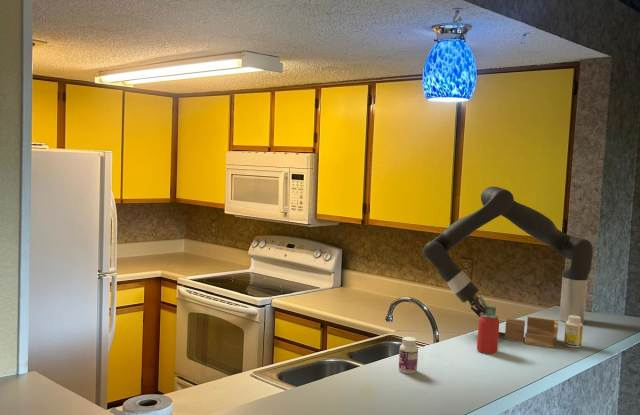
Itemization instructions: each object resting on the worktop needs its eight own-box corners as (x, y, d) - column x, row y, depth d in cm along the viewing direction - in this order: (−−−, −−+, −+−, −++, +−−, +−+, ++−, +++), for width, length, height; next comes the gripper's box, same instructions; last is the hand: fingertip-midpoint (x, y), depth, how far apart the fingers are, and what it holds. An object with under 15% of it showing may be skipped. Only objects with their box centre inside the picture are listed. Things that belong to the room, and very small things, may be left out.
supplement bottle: (576, 343, 220) (578, 314, 219) (584, 348, 214) (586, 318, 213) (560, 343, 219) (563, 314, 218) (568, 348, 214) (570, 318, 213)
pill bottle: (394, 368, 186) (396, 336, 185) (410, 367, 188) (412, 335, 187) (404, 375, 181) (406, 342, 180) (420, 373, 183) (422, 340, 182)
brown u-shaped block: (526, 335, 227) (527, 316, 226) (556, 339, 223) (558, 320, 223) (524, 343, 217) (526, 323, 216) (556, 348, 213) (557, 327, 213)
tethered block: (483, 331, 230) (485, 304, 229) (523, 337, 225) (525, 309, 224) (481, 335, 224) (483, 307, 223) (522, 341, 219) (524, 313, 218)
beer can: (472, 351, 206) (475, 314, 205) (482, 347, 211) (485, 311, 210) (491, 356, 202) (493, 319, 201) (501, 351, 206) (503, 315, 205)
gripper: (467, 283, 221) (501, 322, 218) (473, 276, 234) (504, 313, 231) (451, 296, 223) (484, 335, 220) (457, 289, 236) (488, 325, 233)
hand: (494, 323), depth 225 cm, fingers closed on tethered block, 4 cm apart
